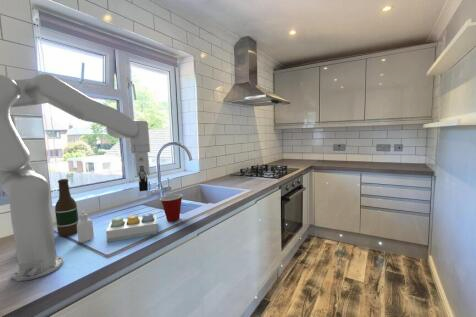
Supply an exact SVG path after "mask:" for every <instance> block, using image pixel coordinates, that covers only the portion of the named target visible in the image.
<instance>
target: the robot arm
mask: <svg viewBox="0 0 476 317" xmlns="http://www.w3.org/2000/svg"><path fill="white" fill-rule="evenodd" d="M44 104H49V105H51V106H53V107H55V108H57V109H59V110H60V111H63V112H65V113H67V114H68V115H70V116H72V117H74V118H76V119H78V120H80V121H85V122H89V123H94V124H97V125H101V126H103V127H105V128H106V132H107V134H108V135H109V136H110V137H111V138H114V139H129V142H130V152H131V153H130V154H134V162H135V169H136V170H135V171H136V174H137V177H138V180H139V181H138V190H139V192H145V191H146V192H147V191H148V190H149V188H148V185H149V182H148V177H149V176H150V172H151V171H150V161H149V153H151V147H150V145H151V144H150V143H151V142H150V132H149V122H148V121H147V120H145V119H133V118H131V117H130V116H128V115H127V114H125V113H124V112H122V111H120V110H118V109H116V108H115V107H112V106H110V105H108V104H106V103H105V104H104V103H102V102H100V101H98V100H96V99H93V98H91V97H90V96H87V95H86V94H84V93H83V92H81V91H79V89H76V88H74V87H73V86H71V85H70V84H68V83H66V82H65V81H63V80H61V79H60V78H58V77H56V76H54V75H52V74H49V73H41V74H38V75H35V76H34V77H31V78H25V79H12V78H11V77H9V76H6V75H4V74H0V187H1V189H2V190H3V192H4V193H5V194H6V196H8V199H9V200H8V201H9V210H10V219H11V226H12V232H13V238H14V239H13V240H14V245H15V246H14V247H15V254H16V260H17V266H18V267H17V268H15V269H14V270H13V271H12V275H11V276H12V279H13V280H14V281H17V282H21V281H29V280H35V279H39V278H41V277H44V276H46V275H49V274H51V273H53V272H54V271H56V270H57V269H60V267H62V266H63V264H64V258H63V257H62V256H60V255H57V248H56V240H55V232H54V231H55V229H54V224H53V223H54V222H53V217H52V216H53V215H52V208H51V193H52V192H51V187H50V183H49V182H48V180H47V179H46V178H45V177H44V176H43V175H42V174H40V173H37V172H36V171H35V169H34V168H33V166H32V164H31V162H30V160H31V153H30V151H29V149H28V147H27V146H26V145H25V143H24V141H23V138H21V136H20V134H19V132H18V131H17V128H16V127H15V125H14V123H13V120H12V117H11V114H10V112H11V110H10V109H12V108H20V107H29V106H30V107H31V106H38V105H44Z"/></svg>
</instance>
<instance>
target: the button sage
mask: <svg viewBox="0 0 476 317" xmlns="http://www.w3.org/2000/svg"><path fill="white" fill-rule="evenodd" d="M123 219H124V217H121V216H120V217H113V218H112V219H111V221H112V227H118V226H124V222H123Z"/></svg>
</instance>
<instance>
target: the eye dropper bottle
mask: <svg viewBox="0 0 476 317" xmlns="http://www.w3.org/2000/svg"><path fill="white" fill-rule="evenodd" d="M79 216H80V221H79V222H78V223H77V233H76V234H77V241H78V242H79V243H86V242H88V241H90V240H92V239H94V237H95V232H94V225H93V220H92V219H90V218H88V214H87V213H85V210H83V211H82V212H81V214H80V215H79Z"/></svg>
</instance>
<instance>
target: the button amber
mask: <svg viewBox="0 0 476 317" xmlns="http://www.w3.org/2000/svg"><path fill="white" fill-rule="evenodd" d="M138 217H139V215H138V214H136V215H135V214H133V215H129V216H127V218H126V219H127V221H128V225H132V224H138V223H139V219H138Z"/></svg>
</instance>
